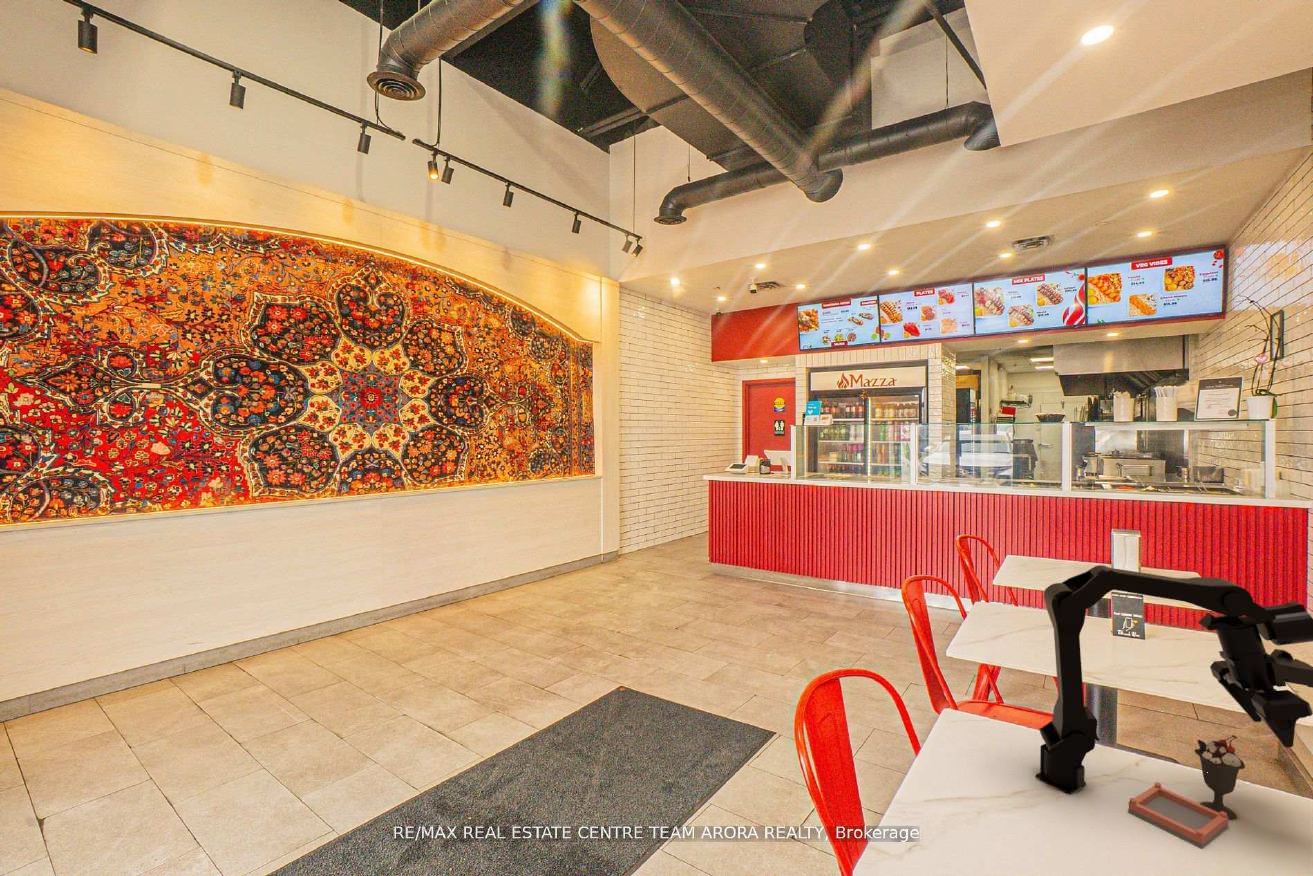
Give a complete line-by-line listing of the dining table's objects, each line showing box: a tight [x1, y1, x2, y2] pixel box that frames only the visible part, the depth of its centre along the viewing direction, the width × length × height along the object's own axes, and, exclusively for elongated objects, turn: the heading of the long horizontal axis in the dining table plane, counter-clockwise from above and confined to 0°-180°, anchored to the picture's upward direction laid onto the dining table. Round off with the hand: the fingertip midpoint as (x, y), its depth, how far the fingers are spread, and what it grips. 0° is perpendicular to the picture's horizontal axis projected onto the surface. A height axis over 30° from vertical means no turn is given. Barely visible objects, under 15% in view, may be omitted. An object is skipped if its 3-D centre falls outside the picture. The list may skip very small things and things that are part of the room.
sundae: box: [1194, 734, 1246, 821], centre depth 109 cm, size 7×7×15 cm
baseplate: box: [1128, 781, 1229, 849], centre depth 107 cm, size 11×11×3 cm
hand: (1272, 733), depth 106 cm, fingers open, 9 cm apart
